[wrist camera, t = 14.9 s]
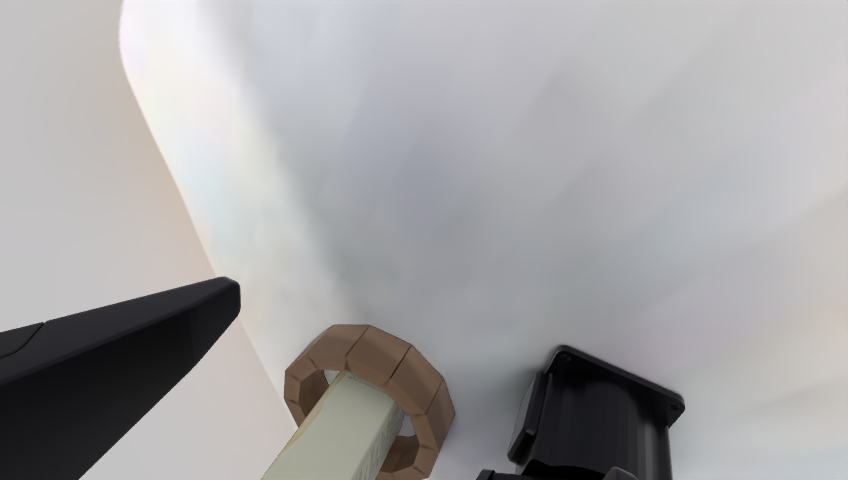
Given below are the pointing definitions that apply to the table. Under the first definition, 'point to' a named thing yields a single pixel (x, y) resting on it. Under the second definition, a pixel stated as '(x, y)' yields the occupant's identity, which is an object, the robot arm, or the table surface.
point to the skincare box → (341, 434)
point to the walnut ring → (389, 370)
